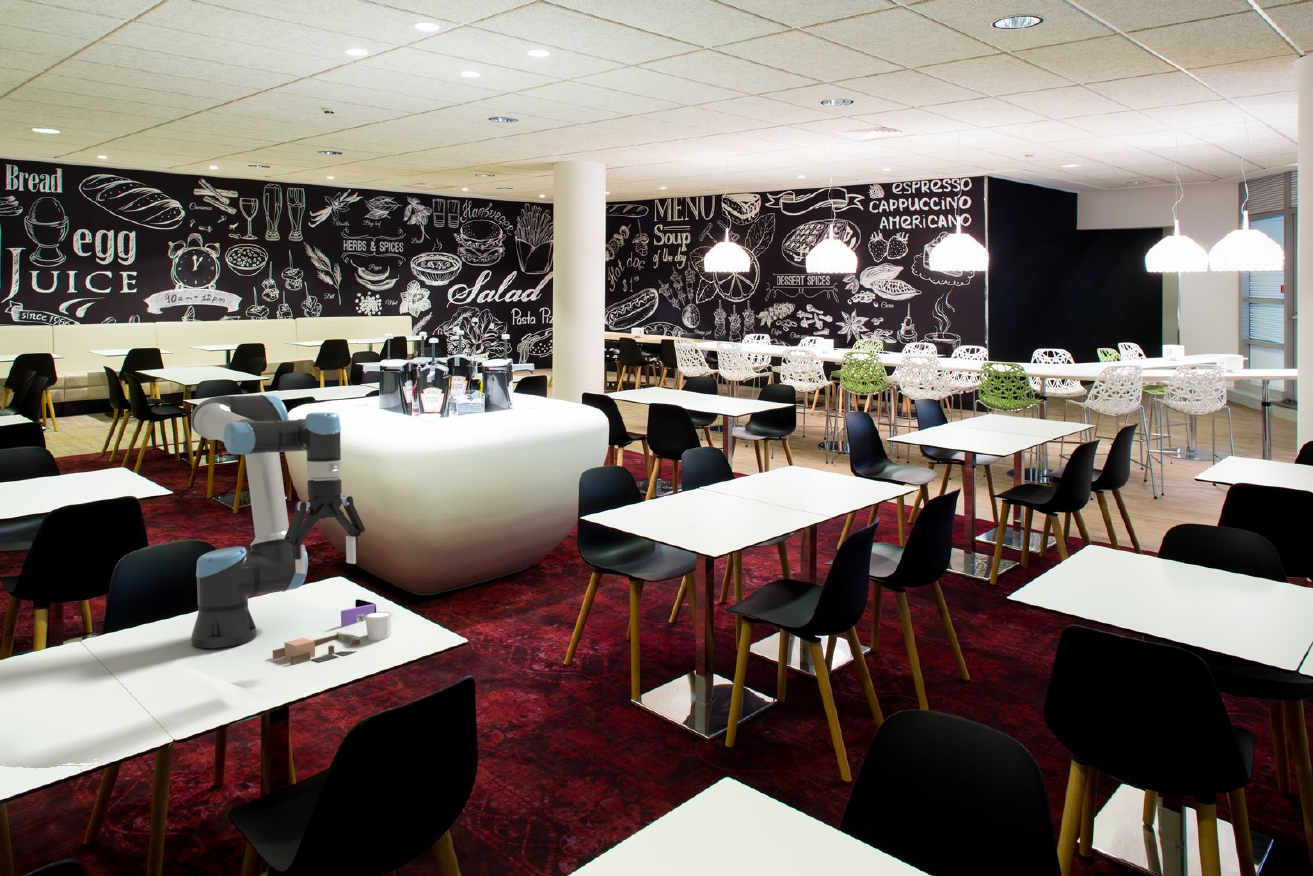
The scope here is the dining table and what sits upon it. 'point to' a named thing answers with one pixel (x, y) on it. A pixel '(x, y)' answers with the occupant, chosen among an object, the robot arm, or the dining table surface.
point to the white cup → (379, 625)
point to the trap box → (306, 655)
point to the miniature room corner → (357, 612)
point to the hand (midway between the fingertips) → (326, 568)
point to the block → (299, 647)
